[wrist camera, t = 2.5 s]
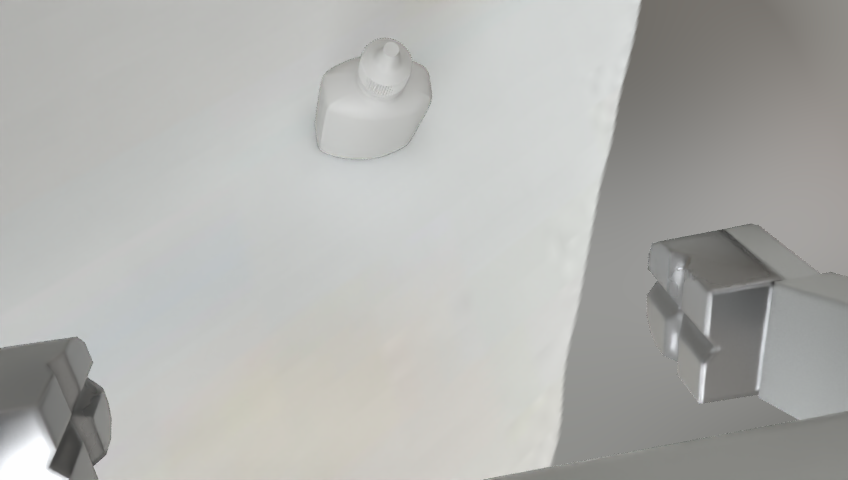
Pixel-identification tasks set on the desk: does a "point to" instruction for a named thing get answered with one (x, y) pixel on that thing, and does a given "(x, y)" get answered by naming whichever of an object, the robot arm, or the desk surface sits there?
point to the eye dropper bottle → (372, 102)
